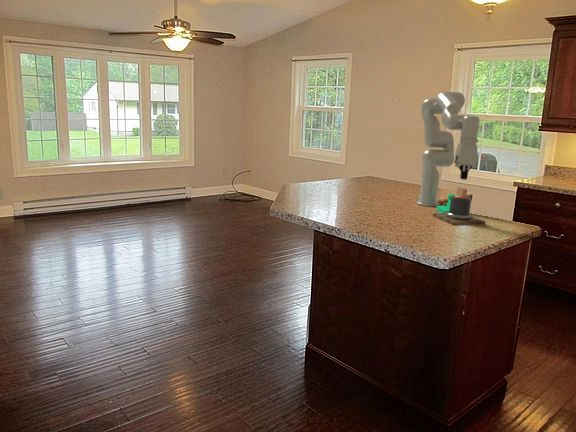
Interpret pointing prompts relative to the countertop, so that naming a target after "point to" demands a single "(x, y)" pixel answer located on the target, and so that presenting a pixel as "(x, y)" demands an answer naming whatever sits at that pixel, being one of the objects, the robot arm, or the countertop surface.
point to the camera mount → (445, 208)
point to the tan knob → (461, 193)
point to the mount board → (453, 221)
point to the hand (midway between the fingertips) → (463, 179)
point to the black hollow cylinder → (459, 209)
